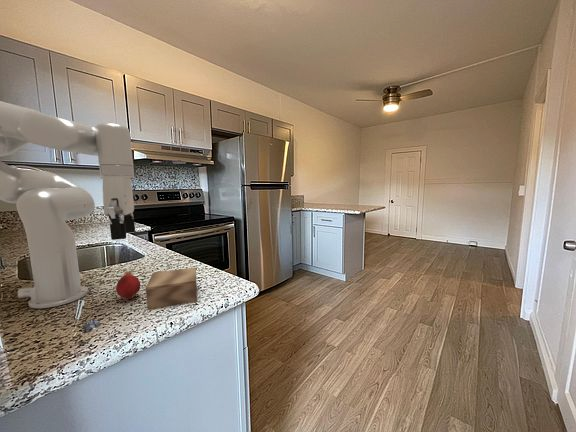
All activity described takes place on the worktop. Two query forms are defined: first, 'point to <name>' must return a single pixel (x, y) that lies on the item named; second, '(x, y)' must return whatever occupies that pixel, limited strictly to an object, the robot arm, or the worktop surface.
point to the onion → (128, 286)
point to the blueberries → (90, 325)
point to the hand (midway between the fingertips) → (124, 235)
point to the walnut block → (171, 288)
